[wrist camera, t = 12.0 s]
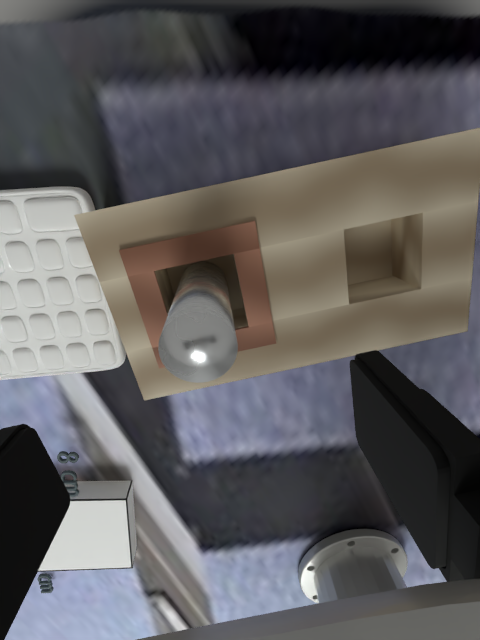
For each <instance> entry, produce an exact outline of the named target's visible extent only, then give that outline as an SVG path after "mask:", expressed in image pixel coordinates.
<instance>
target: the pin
mask: <svg viewBox="0 0 480 640" xmlns="http://www.w3.org/2000/svg"><path fill="white" fill-rule="evenodd" d="M158 350H159V356H160V359H161V361H162V363H163V365H164V366H165V367H166V369H167V370H168V371H169V372H170V373H172V374H173V375H174V376H176V377H178V378H179V379H182V380H185V381H188V382H194V383H203V382H209V381H212V380H215V379H217V378H219V377H221V376H222V375H224V374H225V373H226V372H227V371H228V370H229V369H230V368H231V367H232V365H233V363H234V361H235V359H236V356H237V351H238V344H237V338H236V332H235V326H234V321H233V315H232V309H231V304H230V298H229V292H228V287H227V281H226V277H225V275H224V273H223V271H222V270H221V269H220V268H219V267H218V266H217V265H215V264H213V263H211V262H206V261H200V262H196V263H193V264H191V265H190V266H188V267H187V268H186V269H185V271H184V272H183V274H182V277H181V280H180V282H179V285H178V288H177V291H176V294H175V296H174V299H173V302H172V305H171V308H170V310H169V313H168V316H167V319H166V322H165V324H164V327H163V330H162V333H161V336H160V339H159V344H158Z"/></svg>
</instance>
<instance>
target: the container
mask: <svg viewBox="0 0 480 640" xmlns="http://www.w3.org/2000/svg"><path fill="white" fill-rule="evenodd" d="M61 456H66V457H67V459H62V458H61ZM70 456H74V457H75V459H73V458H71V457H70ZM78 458H79V455H78V454H77V453H76V452H70V453H69V454H68V453H67V452H65V451H62V452H60V453H59V454H58V456H57V459H58V461H59V462H61V463H67V462H68V460H69V461H70V462H72V463H75V462H77V460H78ZM64 475H72V476H73V478H74V480H70V481H64V480H65V477H64ZM76 478H77V475H76V473H75V472H73V471H70V470H67V471H64V472H63V473H62V475H61V479H62V481H63V483H64V485H65V487H66V489H67V491H68V492H69V495H70V506H69V508H68V511H67V513H66V515H65V517H64V519H63V521H62V523H61V525H60V527H59V529H58V531H57V533H56V535H55V537H54V539H53V541H52V543H51V545H50V547H49V549H48V551H47V553H46V555H45V557H44V560H43V562H42V564H41V566H40V568H39V570H38V572H40V571H68V570H96V569H124V568H133V564H134V559H135V554H136V550H137V539H136V525H135V511H134V497H133V483H132V481H77V480H76ZM43 577H44V578H47V579H48V581H41V578H43ZM38 581H39V585H41V586H40V589H42V591H41V593H50V592H52V591H53V587H52V581H51V576H50V575H49V574H40V575H39V577H38ZM42 584H48V585H42Z"/></svg>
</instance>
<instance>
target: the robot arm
mask: <svg viewBox="0 0 480 640" xmlns="http://www.w3.org/2000/svg"><path fill="white" fill-rule="evenodd" d="M350 373H351V384H352V396H353V407H354V418H355V430H356V437H357V441H358V444H359V446H360V448H361V450H362V451H363V453H364V455H365V457H366V458H367V460H368V462H369V464H370V465H371V467H372V469H373V470H374V472H375V474H376V476H377V477H378V479H379V481H380V482H381V484H382V486H383V488H384V489H385V491H386V493H387V494H388V496H389V498H390V500H391V501H392V503H393V505H394V506H395V508H396V510H397V512H398V513H399V515H400V517H401V518H402V520H403V522H404V524H405V525H406V527H407V529H408V531H409V532H410V534H411V536H412V537H413V539H414V541H415V543H416V544H417V546H418V548H419V549H420V551H421V553H422V555H423V556H424V558H425V560H426V561H427V563H428V564H429V566H430V567H431V568H433V569H435V568H439V569H440V571H441V572H442V574H443V576H444V577H445V579H446V581H447V582H442V583H434V584H425V585H419V586H414V587H408V588H407V586H406V584H405V582H404V580H403V576H404V574H405V572H406V570H407V564H408V560H407V555H406V553H405V551H404V549H403V547H402V545H401V544H400V543H399V541H398V540H397V539H396V538H394V537H393V536H392V535H390V534H388V533H386V532H383V531H379V530H375V529H353V530H347V531H343V532H340V533H337V534H334V535H331V536H329V537H327V538H325V539H323V540H322V541H320V542H319V543H317V544H316V545H314V546H313V547H312V548H311V549H310V550H309V551H308V552H307V553H306V554H305V556H304V557H303V559H302V561H301V563H300V565H299V569H298V578H299V582H300V586H301V589H302V591H303V592H304V594H305V595H306V596H307V597H308V598H309V599H311V600H313V601H314V602H316V603H319V604H313V605H308V606H303V607H298V608H293V609H288V610H283V611H278V612H273V613H268V614H263V615H258V616H252V617H247V618H242V619H237V620H232V621H227V622H222V623H217V624H212V625H207V626H202V627H197V628H192V629H187V630H182V631H177V632H172V633H167V634H162V635H157V636H152V637H147V638H142V639H137V640H480V439H479V438H478V437H477V436H476V435H475V434H474V433H472V432H471V431H470V430H469V429H468V428H467V427H466V426H465V425H464V424H462V423H461V422H460V421H459V420H458V419H457V418H456V417H455V416H454V415H452V414H451V413H450V412H449V411H448V410H447V409H446V408H445V407H444V406H442V405H441V404H440V403H439V402H438V401H437V400H436V399H435V398H434V397H432V396H431V395H430V394H429V393H428V392H426V391H425V390H423V389H419V388H418V387H417V386H416V385H415V384H414V383H412V382H411V381H410V380H409V379H408V378H407V377H406V376H405V375H404V374H403V373H402V372H400V371H399V370H398V369H397V368H396V367H395V366H394V365H393V364H392V363H391V362H390V361H389V360H387V359H386V358H385V357H384V356H383V355H382V354H381V353H380V352H379V351H377V350H374V351H369V352H364V353H359V354H356V356H355V360H351V361H350ZM69 506H70V495H69V492H68V491H67V489H66V487H65V485H64V483H63V481H62V479H61V477H60V475H59V474H58V472H57V470H56V468H55V466H54V464H53V462H52V460H51V458H50V457H49V455H48V453H47V451H46V449H45V447H44V445H43V443H42V441H41V440H40V438H39V436H38V434H37V432H36V431H35V429H33V428H30V427H29V426H28V425H26V424H21V425H17V426H12V427H7V428H3V429H1V430H0V640H4V639H5V637H6V635H7V633H8V631H9V629H10V627H11V625H12V623H13V621H14V619H15V617H16V615H17V613H18V610H19V608H20V606H21V604H22V602H23V600H24V598H25V596H26V594H27V592H28V590H29V588H30V586H31V584H32V582H33V580H34V578H35V576H36V574H37V572H38V570H39V568H40V566H41V564H42V562H43V560H44V557H45V555H46V553H47V551H48V549H49V547H50V545H51V543H52V541H53V539H54V537H55V535H56V533H57V531H58V529H59V527H60V525H61V523H62V521H63V519H64V517H65V515H66V513H67V511H68V508H69Z"/></svg>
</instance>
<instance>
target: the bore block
mask: <svg viewBox="0 0 480 640" xmlns="http://www.w3.org/2000/svg"><path fill="white" fill-rule="evenodd" d="M479 186H480V128H476V129H472V130H467V131H462V132H458V133H453V134H448V135H444V136H439V137H434V138H430V139H425V140H420V141H416V142H411V143H407V144H402V145H397V146H393V147H388V148H383V149H379V150H374V151H369V152H365V153H360V154H355V155H351V156H346V157H342V158H337V159H332V160H328V161H323V162H318V163H314V164H309V165H304V166H300V167H295V168H290V169H286V170H281V171H277V172H272V173H267V174H263V175H258V176H253V177H249V178H244V179H239V180H235V181H230V182H225V183H221V184H216V185H212V186H207V187H202V188H198V189H193V190H188V191H184V192H179V193H174V194H170V195H165V196H160V197H156V198H151V199H147V200H142V201H137V202H133V203H128V204H123V205H119V206H114V207H109V208H105V209H100V210H95V211H91V212H86V213H82V214H77V215H74V216H75V219H76V222H77V224H78V227H79V230H80V232H81V235H82V238H83V240H84V243H85V245H86V248H87V251H88V253H89V256H90V259H91V261H92V264H93V266H94V269H95V272H96V274H97V277H98V280H99V282H100V285H101V288H102V290H103V293H104V295H105V298H106V301H107V303H108V306H109V309H110V311H111V314H112V316H113V319H114V322H115V324H116V327H117V330H118V332H119V335H120V338H121V340H122V343H123V345H124V348H125V351H126V353H127V356H128V359H129V361H130V364H131V366H132V369H133V372H134V374H135V377H136V380H137V382H138V385H139V388H140V390H141V393H142V395H143V398H144V400H149V399H153V398H158V397H163V396H167V395H172V394H177V393H181V392H186V391H191V390H195V389H200V388H205V387H209V386H214V385H219V384H223V383H228V382H233V381H237V380H242V379H247V378H251V377H256V376H261V375H265V374H270V373H275V372H279V371H284V370H289V369H293V368H298V367H303V366H308V365H312V364H317V363H322V362H326V361H331V360H336V359H340V358H345V357H350V356H354V355H356V354H359V353H364V352H369V351H374V350H377V351H378V350H382V349H387V348H392V347H396V346H401V345H406V344H410V343H415V342H420V341H424V340H429V339H434V338H438V337H443V336H448V335H453V334H457V333H462V332H467V331H468V319H469V307H470V295H471V283H472V271H473V259H474V247H475V234H476V222H477V210H478V198H479ZM200 261H206V262H211V263H213V264H215V265H217V266H218V267H219V268H220V269H221V270H222V271H223V273H224V275H225V277H226V281H227V287H228V292H229V298H230V304H231V309H232V315H233V321H234V326H235V332H236V338H237V344H238V351H237V356H236V359H235V361H234V363H233V365H232V367H231V368H230V369H229V370H228V371H227V372H226V373H225V374H224V375H222V376H221V377H219V378H217V379H215V380H212V381H209V382H203V383H194V382H188V381H185V380H182V379H179V378H178V377H176V376H174V375H173V374H172V373H170V372H169V371H168V370H167V369H166V367H165V366H164V365H163V363H162V361H161V359H160V356H159V350H158V344H159V339H160V336H161V333H162V330H163V327H164V324H165V322H166V319H167V316H168V313H169V310H170V308H171V305H172V302H173V299H174V296H175V294H176V291H177V288H178V285H179V282H180V280H181V277H182V274H183V272H184V271H185V269H186V268H187V267H188V266H190V265H191V264H193V263H196V262H200Z"/></svg>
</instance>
